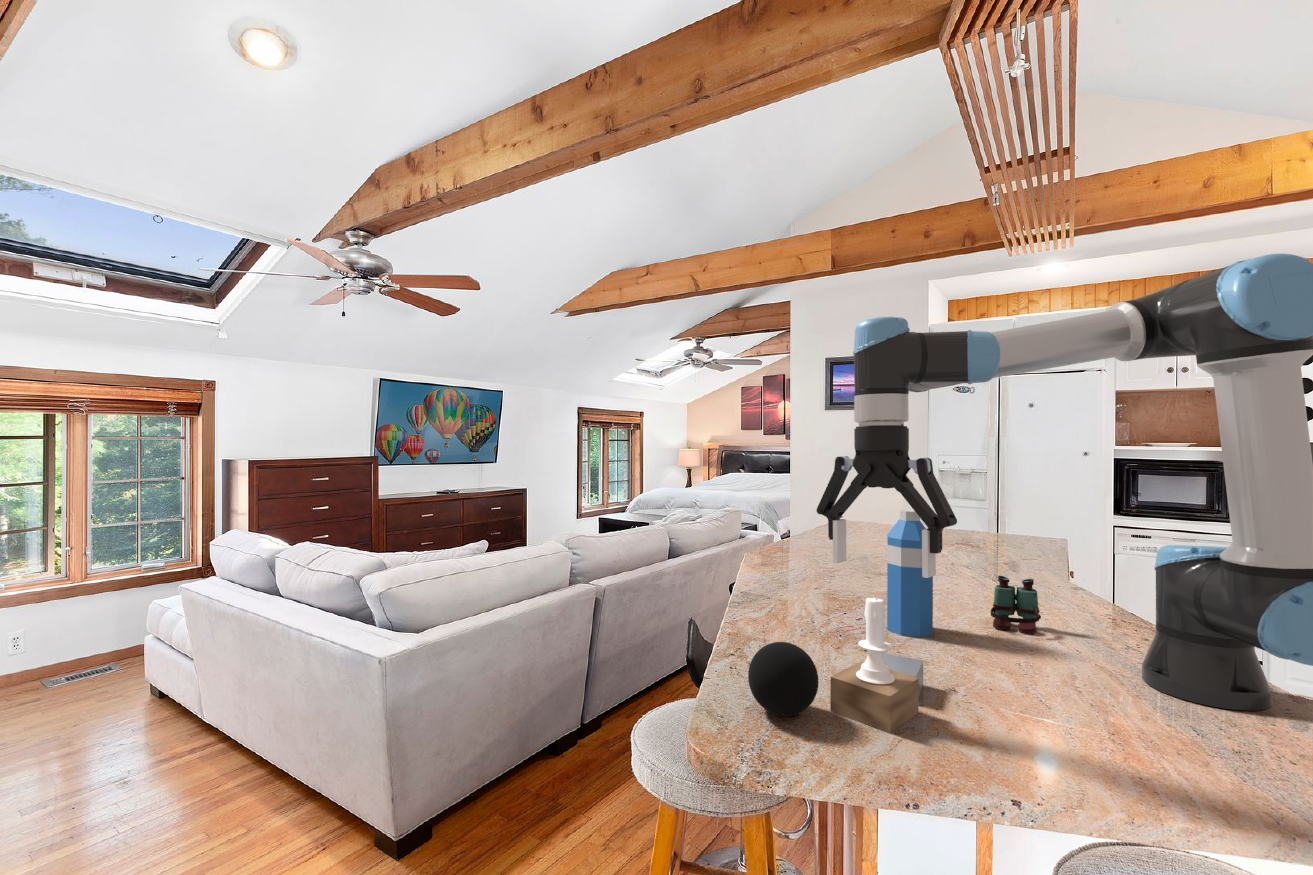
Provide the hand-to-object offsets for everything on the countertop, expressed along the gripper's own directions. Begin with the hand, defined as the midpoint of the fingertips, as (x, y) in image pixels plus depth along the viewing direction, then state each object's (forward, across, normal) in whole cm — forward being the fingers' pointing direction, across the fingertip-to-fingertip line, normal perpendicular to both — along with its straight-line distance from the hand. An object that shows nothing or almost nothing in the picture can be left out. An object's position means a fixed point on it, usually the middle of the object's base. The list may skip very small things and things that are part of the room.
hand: (881, 568), depth 88 cm
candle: (+16, 0, +2) cm, 16 cm away
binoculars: (+21, -2, -56) cm, 60 cm away
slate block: (+21, +2, -8) cm, 23 cm away
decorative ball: (+21, +10, +12) cm, 26 cm away
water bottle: (+21, +13, -40) cm, 47 cm away
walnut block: (+21, 0, +2) cm, 21 cm away
